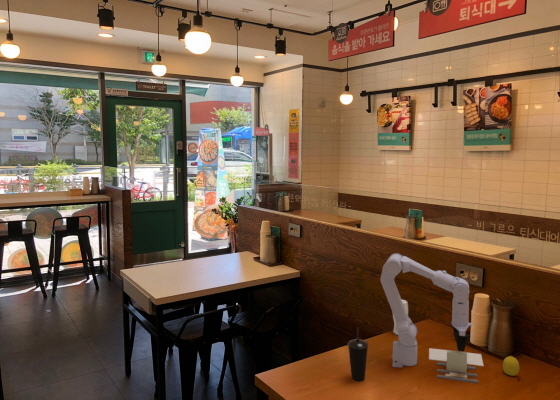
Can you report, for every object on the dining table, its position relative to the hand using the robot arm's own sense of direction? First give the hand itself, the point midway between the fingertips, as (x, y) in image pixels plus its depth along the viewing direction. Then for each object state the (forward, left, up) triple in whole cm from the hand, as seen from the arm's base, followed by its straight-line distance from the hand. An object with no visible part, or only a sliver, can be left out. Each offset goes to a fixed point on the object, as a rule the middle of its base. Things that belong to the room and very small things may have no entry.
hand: (459, 346), depth 172 cm
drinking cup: (-36, -15, -11) cm, 40 cm away
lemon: (+18, +2, -11) cm, 21 cm away
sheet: (-1, -1, -10) cm, 10 cm away
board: (-1, +10, -11) cm, 15 cm away
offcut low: (-2, -6, -10) cm, 12 cm away
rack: (-1, -3, -11) cm, 11 cm away
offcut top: (-1, -6, -9) cm, 11 cm away
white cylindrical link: (-24, +31, -11) cm, 41 cm away
